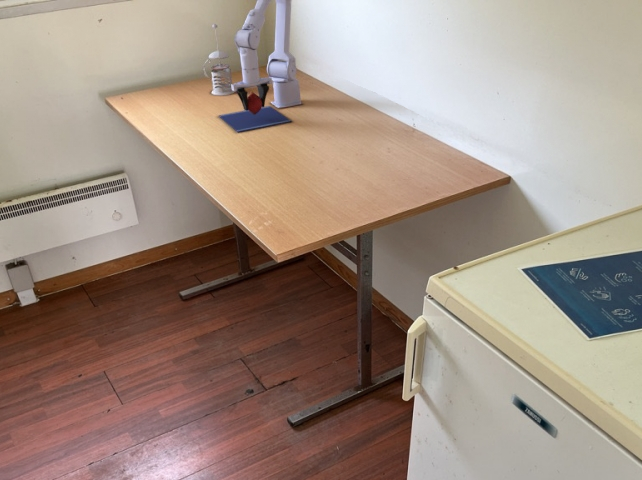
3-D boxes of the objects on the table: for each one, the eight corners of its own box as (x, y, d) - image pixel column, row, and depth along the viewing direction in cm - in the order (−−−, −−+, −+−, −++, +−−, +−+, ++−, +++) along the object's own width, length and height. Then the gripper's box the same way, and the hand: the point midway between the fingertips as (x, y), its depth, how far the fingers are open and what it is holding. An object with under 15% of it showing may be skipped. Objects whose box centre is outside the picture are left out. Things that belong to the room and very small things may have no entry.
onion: (263, 111, 236) (261, 88, 232) (262, 116, 232) (259, 93, 227) (247, 112, 237) (245, 89, 232) (245, 117, 232) (243, 94, 227)
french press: (234, 94, 261) (225, 26, 246) (204, 95, 261) (194, 27, 246) (237, 87, 268) (229, 20, 254) (209, 88, 269) (199, 21, 254)
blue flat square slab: (269, 107, 247) (269, 105, 247) (291, 122, 232) (291, 120, 232) (218, 116, 240) (218, 115, 240) (238, 132, 225) (237, 131, 225)
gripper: (263, 61, 231) (267, 101, 239) (225, 68, 225) (230, 109, 233) (273, 66, 226) (276, 106, 234) (234, 73, 220) (239, 114, 228)
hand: (254, 108), depth 233 cm, fingers closed on onion, 6 cm apart
